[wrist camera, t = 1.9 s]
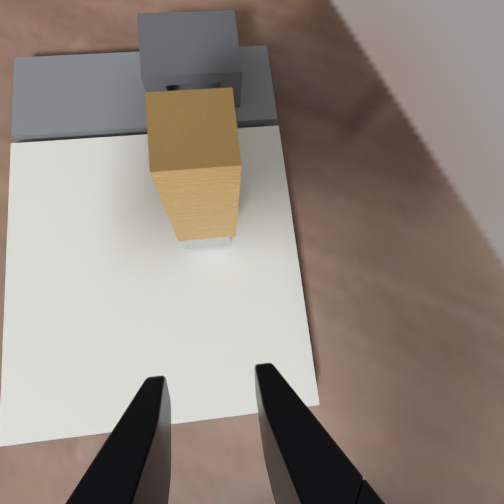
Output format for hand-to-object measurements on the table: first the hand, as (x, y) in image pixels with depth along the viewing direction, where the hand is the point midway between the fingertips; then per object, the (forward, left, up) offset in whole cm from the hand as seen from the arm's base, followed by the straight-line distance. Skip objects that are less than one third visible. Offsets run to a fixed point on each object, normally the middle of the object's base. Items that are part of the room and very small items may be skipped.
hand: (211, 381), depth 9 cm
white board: (+3, +9, -14) cm, 17 cm away
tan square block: (+6, +8, -12) cm, 16 cm away
